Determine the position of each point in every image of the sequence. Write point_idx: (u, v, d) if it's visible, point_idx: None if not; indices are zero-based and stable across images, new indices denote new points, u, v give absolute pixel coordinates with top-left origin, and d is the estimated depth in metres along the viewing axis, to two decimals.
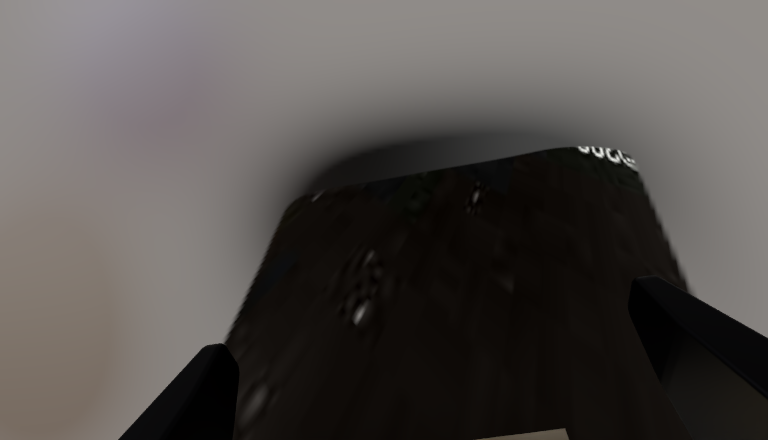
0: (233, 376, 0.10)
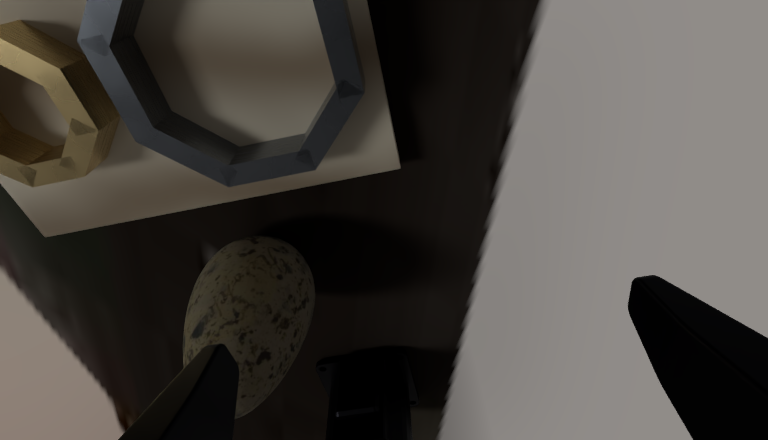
0: (233, 376, 0.10)
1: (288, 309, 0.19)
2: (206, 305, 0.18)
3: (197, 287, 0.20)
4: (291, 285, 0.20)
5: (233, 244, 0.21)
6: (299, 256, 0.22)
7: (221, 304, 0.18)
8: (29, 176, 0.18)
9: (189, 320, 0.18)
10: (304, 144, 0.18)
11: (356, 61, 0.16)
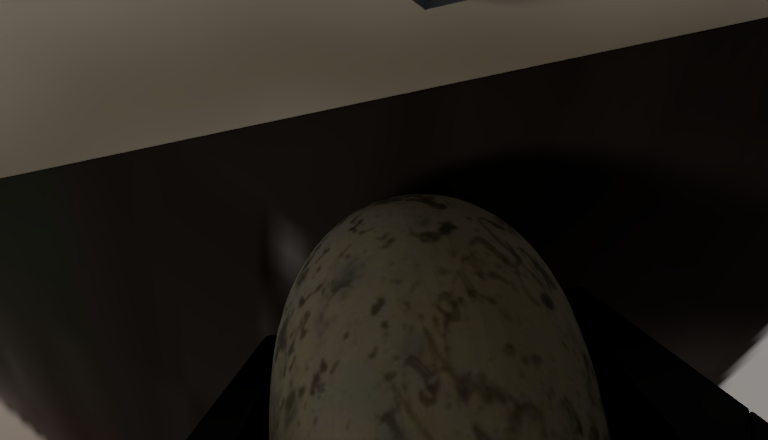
0: None
1: (598, 404, 0.06)
2: (366, 410, 0.05)
3: (306, 332, 0.07)
4: (572, 324, 0.07)
5: (379, 211, 0.08)
6: None
7: (427, 406, 0.05)
8: None
9: None
10: None
11: None
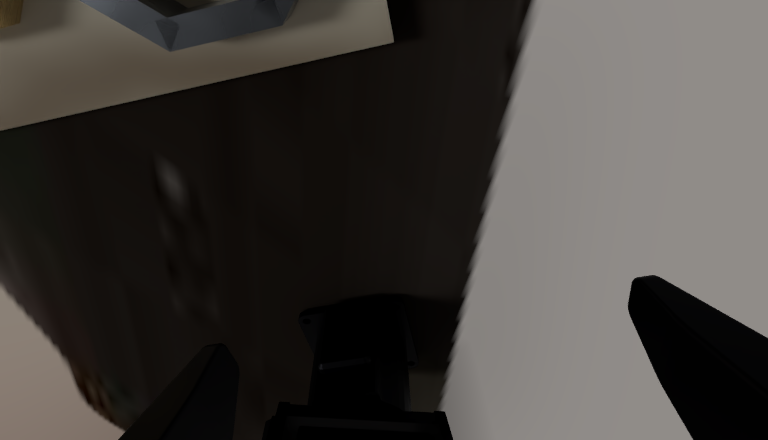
0: (233, 376, 0.10)
1: None
2: None
3: None
4: None
5: None
6: None
7: None
8: None
9: None
10: None
11: None
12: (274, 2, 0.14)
